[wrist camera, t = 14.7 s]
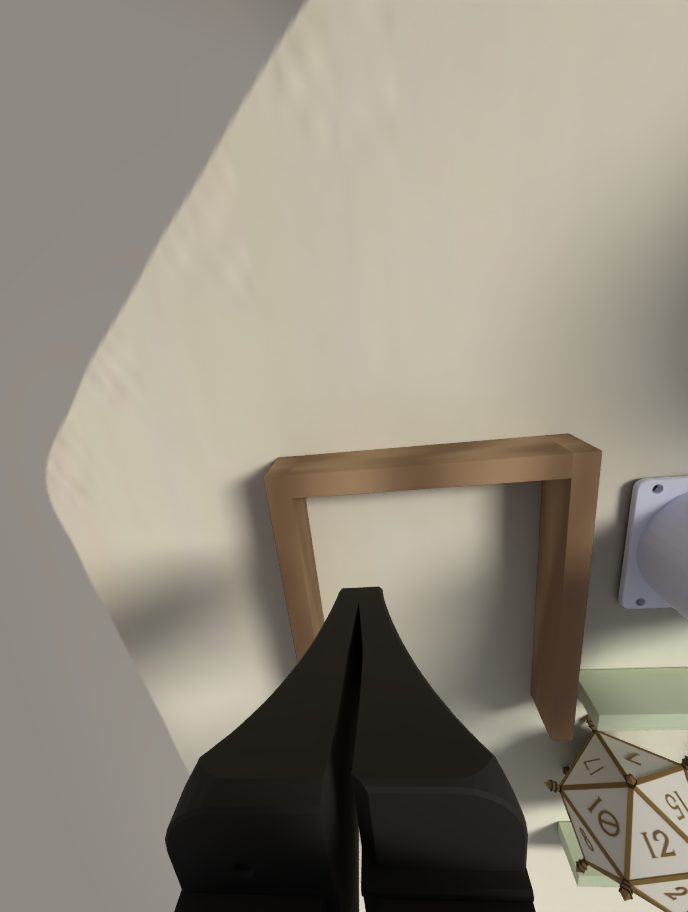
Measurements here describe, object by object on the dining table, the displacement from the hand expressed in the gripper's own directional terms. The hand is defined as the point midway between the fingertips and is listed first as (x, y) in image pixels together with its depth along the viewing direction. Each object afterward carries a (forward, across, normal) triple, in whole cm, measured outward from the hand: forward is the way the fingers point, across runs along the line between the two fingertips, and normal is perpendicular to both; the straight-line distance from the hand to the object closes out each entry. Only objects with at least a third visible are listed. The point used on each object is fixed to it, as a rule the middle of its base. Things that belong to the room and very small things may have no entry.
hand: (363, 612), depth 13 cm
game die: (+10, -14, +20) cm, 26 cm away
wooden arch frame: (+9, -3, +6) cm, 12 cm away
